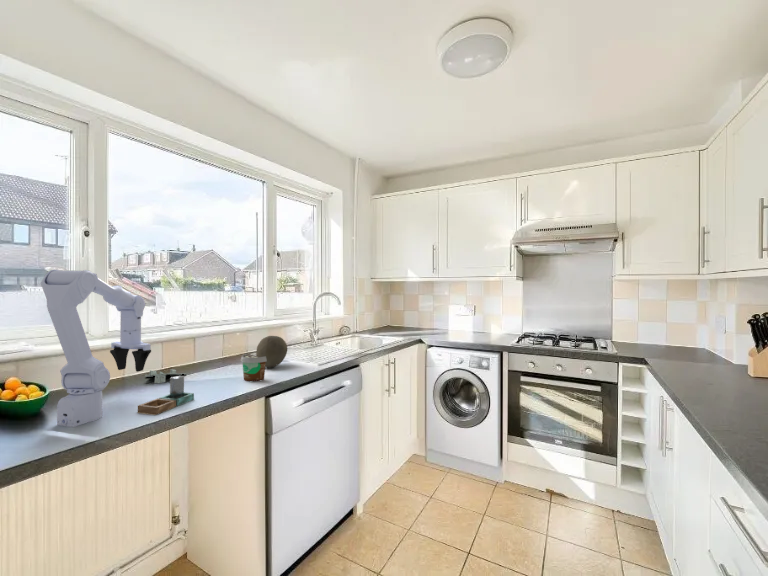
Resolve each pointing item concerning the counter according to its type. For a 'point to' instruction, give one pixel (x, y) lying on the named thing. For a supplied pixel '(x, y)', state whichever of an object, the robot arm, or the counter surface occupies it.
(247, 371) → the food container
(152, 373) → the metal bracket
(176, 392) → the steel pin
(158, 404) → the board
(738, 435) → the counter surface
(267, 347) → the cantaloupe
